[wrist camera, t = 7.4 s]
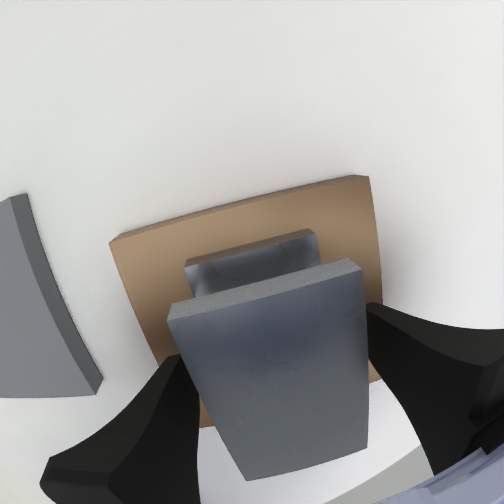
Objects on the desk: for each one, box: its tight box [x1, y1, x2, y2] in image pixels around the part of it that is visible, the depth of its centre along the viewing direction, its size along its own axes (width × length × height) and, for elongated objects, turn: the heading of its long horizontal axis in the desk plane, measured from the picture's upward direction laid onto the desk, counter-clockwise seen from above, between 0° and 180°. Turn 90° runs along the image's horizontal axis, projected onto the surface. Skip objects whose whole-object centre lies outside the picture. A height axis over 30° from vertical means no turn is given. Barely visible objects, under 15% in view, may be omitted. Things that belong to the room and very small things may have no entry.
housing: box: [167, 228, 369, 481], centre depth 11 cm, size 8×5×5 cm, turn 13°
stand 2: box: [109, 175, 383, 428], centre depth 14 cm, size 11×11×2 cm
